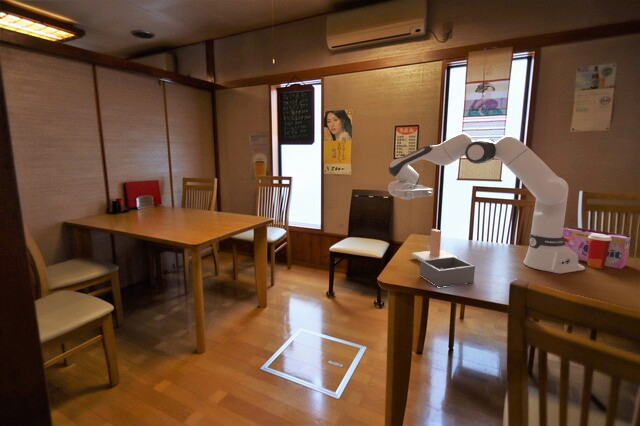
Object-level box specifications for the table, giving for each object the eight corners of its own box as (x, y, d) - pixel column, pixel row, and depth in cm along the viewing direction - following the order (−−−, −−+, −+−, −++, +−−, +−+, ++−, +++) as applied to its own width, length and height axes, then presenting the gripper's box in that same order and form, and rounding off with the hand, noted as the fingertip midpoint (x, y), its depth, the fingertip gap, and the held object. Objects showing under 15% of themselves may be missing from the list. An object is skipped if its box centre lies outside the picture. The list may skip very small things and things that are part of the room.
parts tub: (452, 272, 133) (453, 256, 132) (473, 283, 122) (475, 265, 120) (419, 276, 129) (420, 260, 128) (438, 288, 118) (439, 270, 116)
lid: (440, 255, 155) (442, 225, 153) (458, 263, 144) (460, 231, 141) (411, 258, 151) (412, 228, 148) (427, 267, 139) (428, 234, 136)
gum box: (555, 254, 153) (558, 227, 151) (561, 251, 157) (565, 225, 155) (620, 269, 134) (626, 238, 131) (626, 265, 138) (631, 235, 135)
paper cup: (598, 263, 141) (602, 233, 138) (612, 269, 133) (617, 237, 130) (579, 262, 141) (583, 232, 139) (592, 269, 134) (597, 237, 131)
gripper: (389, 186, 163) (403, 189, 150) (424, 184, 168) (440, 187, 155) (389, 198, 164) (403, 202, 151) (423, 196, 169) (439, 199, 156)
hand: (422, 194), depth 153 cm, fingers open, 8 cm apart
